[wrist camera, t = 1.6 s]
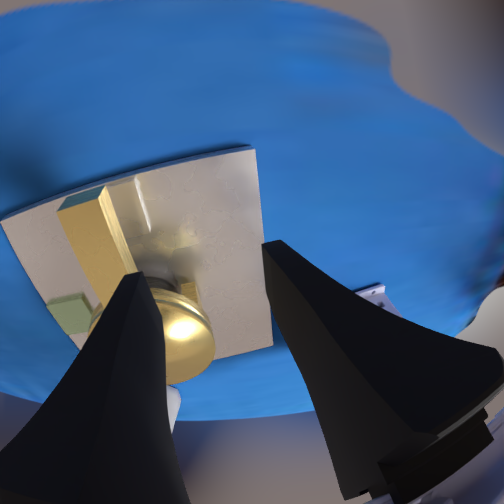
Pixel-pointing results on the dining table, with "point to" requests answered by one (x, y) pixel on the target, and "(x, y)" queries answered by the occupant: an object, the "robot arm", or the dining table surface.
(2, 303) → the dining table surface
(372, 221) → the dining table surface
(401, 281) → the dining table surface
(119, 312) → the robot arm
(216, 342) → the base plate
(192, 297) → the gold bar with disc
